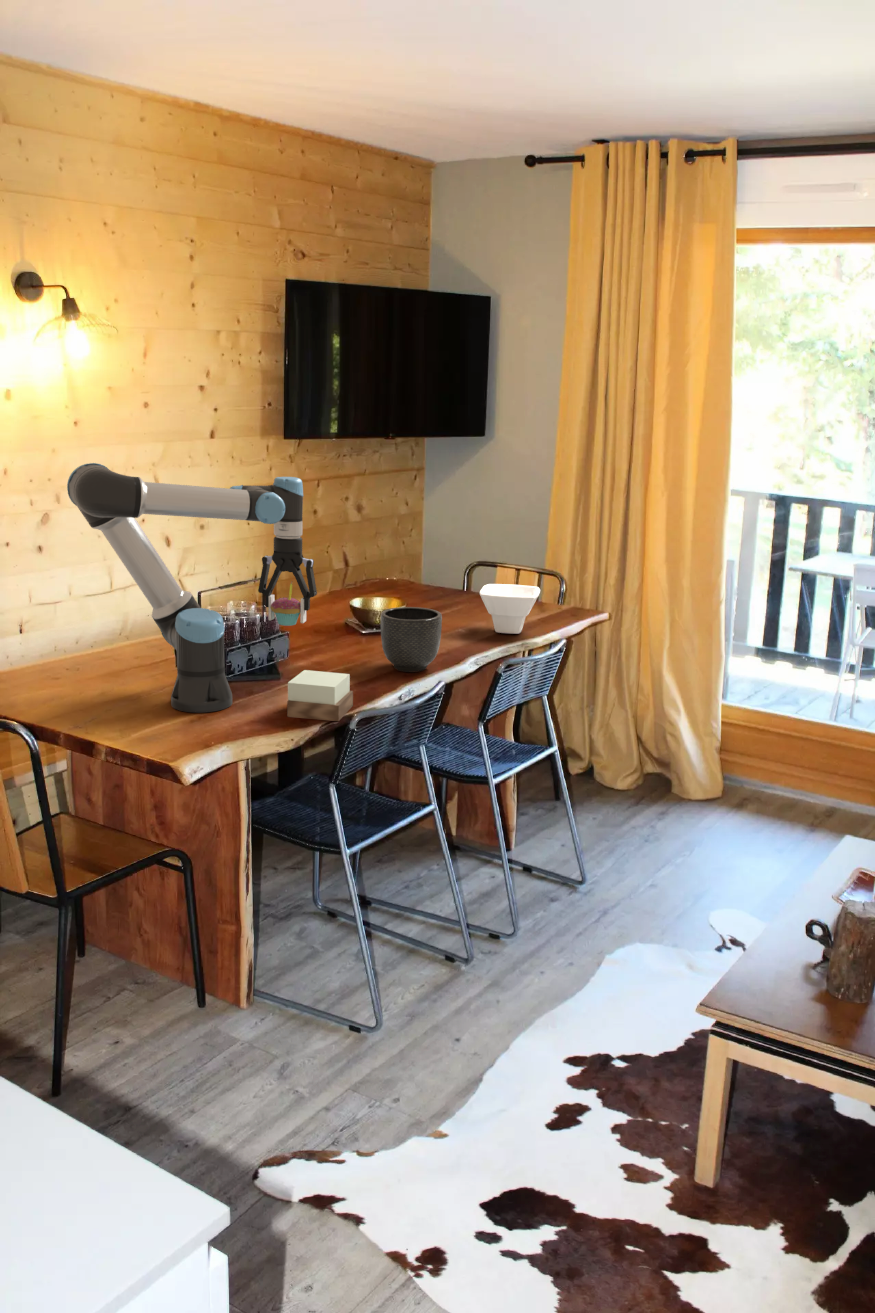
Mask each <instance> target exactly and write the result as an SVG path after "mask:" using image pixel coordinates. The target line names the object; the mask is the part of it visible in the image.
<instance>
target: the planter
mask: <svg viewBox="0 0 875 1313" xmlns="http://www.w3.org/2000/svg"><path fill="white" fill-rule="evenodd" d="M442 622H443V616H442V613H441V612H440V611H438V610H436V609H431V608H427V607H419V606H416V607H415V606H402V607H392V608H388V609H385V610H382V612H381V613H380V637H381V647H382V650H383V654H384V656H385V658H386V659H387V660H388V661H389V662H390V664H392V665H393V668H394V669H395V670H396V669H397V670H396V671H400V672H403V673H418V672H423V671H425V670H426V669H427V668H428V666H429V665H430V664H432V662H433V661H434V660H435V658H436V657H437V655H438V653H439V649H440V645H441V639H442V629H443V628H442V627H443V626H442V624H443V623H442Z"/></svg>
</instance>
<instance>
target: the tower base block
mask: <svg viewBox="0 0 875 1313" xmlns="http://www.w3.org/2000/svg"><path fill="white" fill-rule="evenodd" d="M286 703H287V705H286V706H287V707H286V708H287V709H286V710H287V714H286V715H287V718H295V719H296V718H297V719H298V718H300V719H307V720H321V721H332V722H340V720H342V718H343V717H344V716H346V714H347V713H348V712H349V710H351V708H352V707H353V706H354V690H350V691H349V692H348V693H347V694H346V695H345V696H344V697H343V698H342V699H341V700H340V701H338V702H337V703H336V704H335V705H331V704H321V703H311V702H300V701H290V700H288V699H287V702H286Z"/></svg>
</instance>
